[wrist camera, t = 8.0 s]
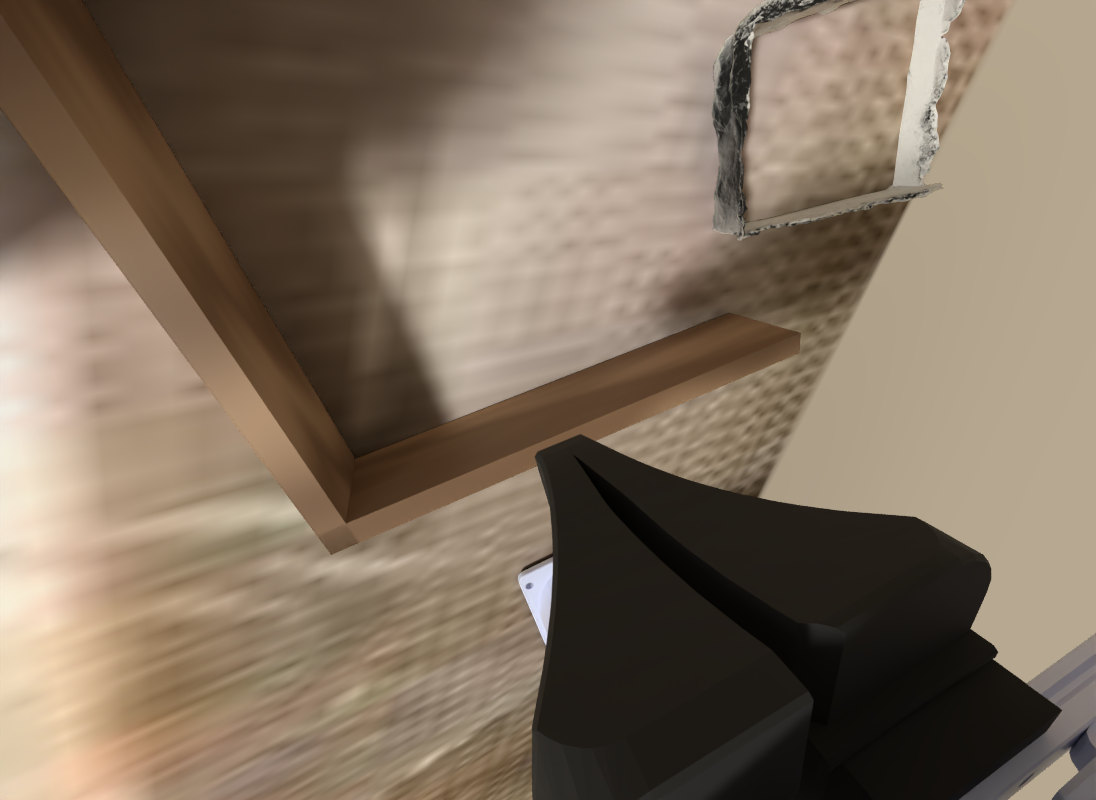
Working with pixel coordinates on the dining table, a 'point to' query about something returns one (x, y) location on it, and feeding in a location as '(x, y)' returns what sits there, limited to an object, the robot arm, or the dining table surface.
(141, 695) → the dining table surface
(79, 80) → the walnut u-shaped frame
